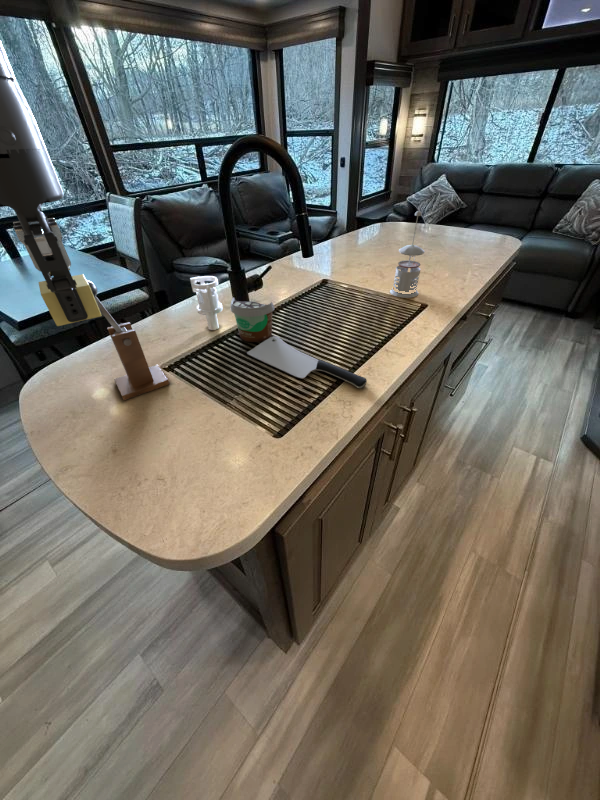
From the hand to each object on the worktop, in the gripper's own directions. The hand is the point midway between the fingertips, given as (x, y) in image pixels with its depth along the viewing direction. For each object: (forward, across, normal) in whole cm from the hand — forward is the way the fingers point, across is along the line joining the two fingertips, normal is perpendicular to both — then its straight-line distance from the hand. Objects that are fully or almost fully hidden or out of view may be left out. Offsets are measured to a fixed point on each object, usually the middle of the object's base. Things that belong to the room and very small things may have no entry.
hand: (75, 311), depth 42 cm
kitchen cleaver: (+27, -6, +40) cm, 48 cm away
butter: (0, 0, 0) cm, 0 cm away
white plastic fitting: (+27, -39, +30) cm, 56 cm away
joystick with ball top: (+10, -22, +3) cm, 24 cm away
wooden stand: (+27, -22, +6) cm, 35 cm away
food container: (+27, -26, +36) cm, 52 cm away
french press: (+26, -24, +96) cm, 102 cm away
